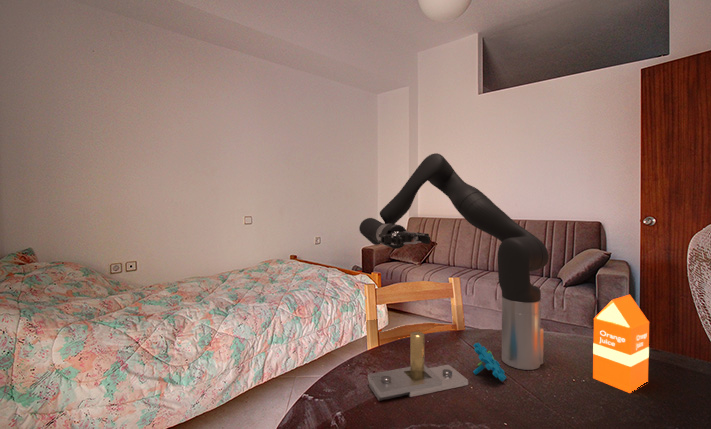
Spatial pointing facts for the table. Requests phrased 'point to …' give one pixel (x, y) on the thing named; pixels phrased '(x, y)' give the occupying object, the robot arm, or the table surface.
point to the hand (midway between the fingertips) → (415, 241)
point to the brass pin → (417, 356)
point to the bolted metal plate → (401, 383)
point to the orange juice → (621, 345)
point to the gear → (488, 362)
